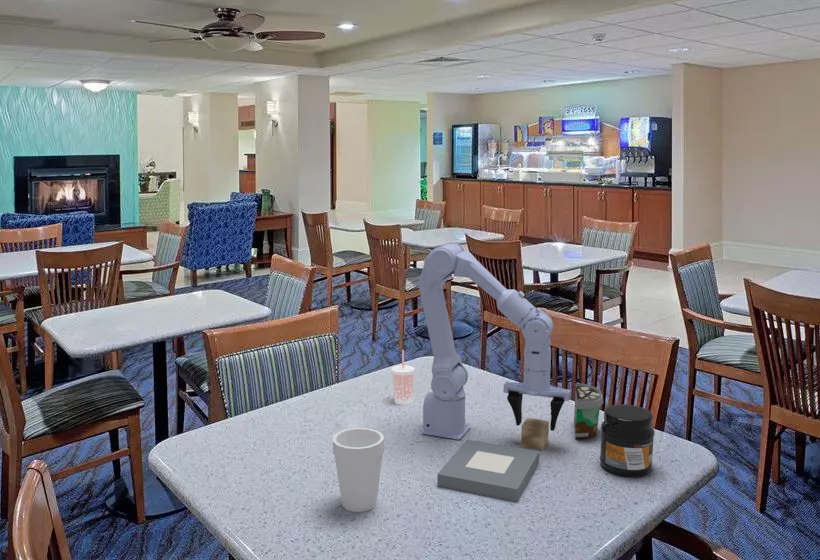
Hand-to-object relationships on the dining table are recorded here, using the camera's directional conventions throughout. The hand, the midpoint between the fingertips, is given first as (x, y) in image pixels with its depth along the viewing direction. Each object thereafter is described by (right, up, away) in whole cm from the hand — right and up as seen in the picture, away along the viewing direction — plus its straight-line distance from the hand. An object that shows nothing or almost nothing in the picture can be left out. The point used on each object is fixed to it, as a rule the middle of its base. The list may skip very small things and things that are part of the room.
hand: (535, 426), depth 154 cm
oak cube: (0, -4, +1) cm, 4 cm away
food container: (+13, -3, +7) cm, 15 cm away
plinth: (-12, -7, -13) cm, 19 cm away
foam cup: (-38, -9, -25) cm, 46 cm away
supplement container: (+17, -6, -11) cm, 21 cm away
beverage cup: (-30, +1, +27) cm, 40 cm away
